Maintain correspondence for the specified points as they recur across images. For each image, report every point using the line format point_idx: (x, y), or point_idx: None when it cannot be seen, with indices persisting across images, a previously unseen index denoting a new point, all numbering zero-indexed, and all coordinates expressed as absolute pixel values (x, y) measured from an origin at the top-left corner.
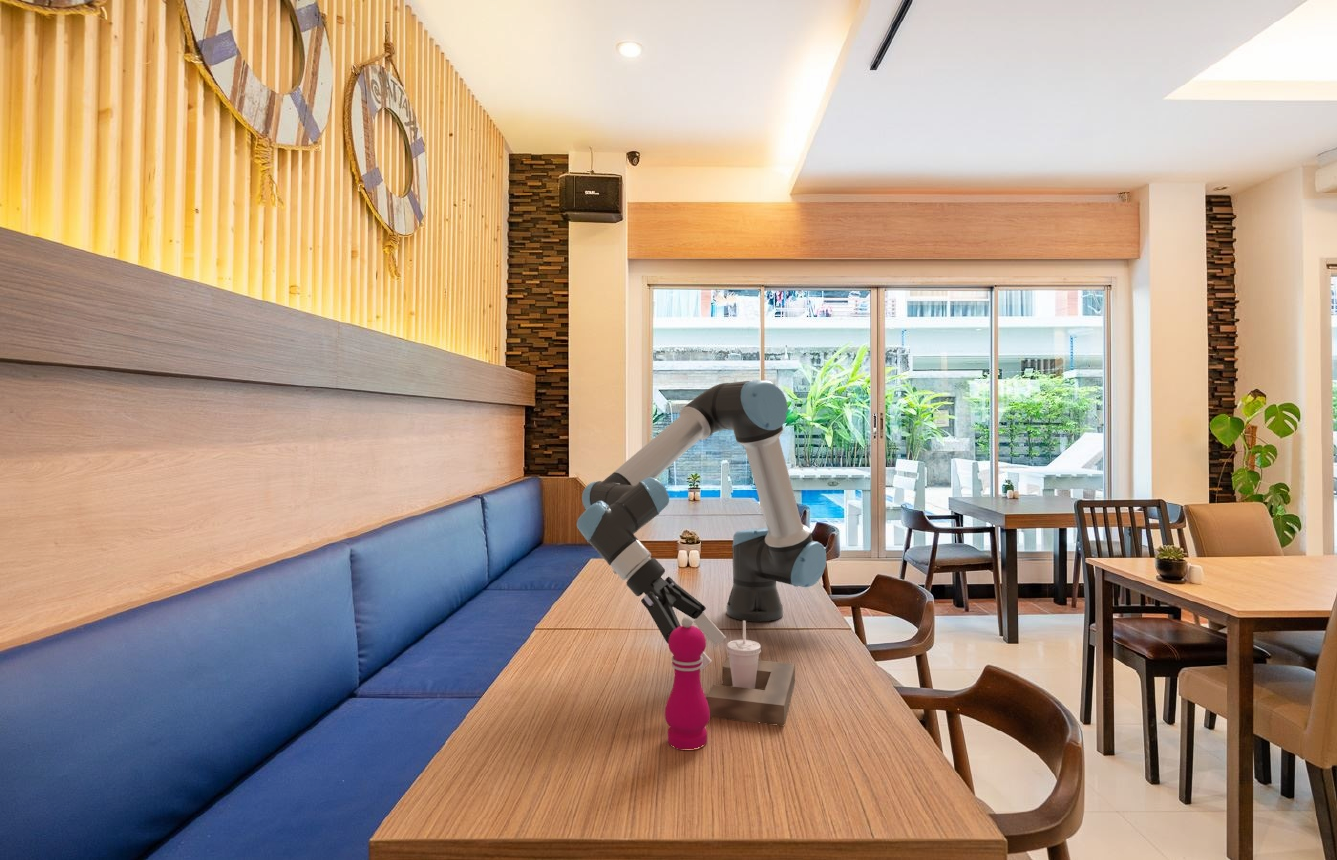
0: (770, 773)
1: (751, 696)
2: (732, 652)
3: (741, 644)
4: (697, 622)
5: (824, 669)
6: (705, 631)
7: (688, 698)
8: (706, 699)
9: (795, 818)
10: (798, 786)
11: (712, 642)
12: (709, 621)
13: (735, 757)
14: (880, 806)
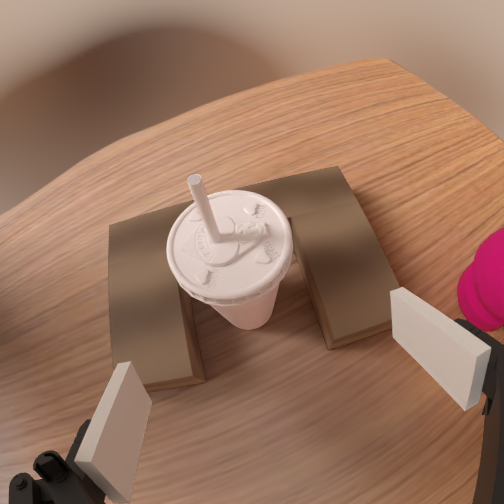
0: (453, 170)
1: (342, 225)
2: (287, 260)
3: (234, 240)
4: (124, 483)
5: (62, 226)
6: (135, 442)
7: None
8: (500, 231)
9: (482, 138)
10: (447, 143)
11: (148, 413)
12: (107, 423)
13: (462, 216)
14: (412, 94)
